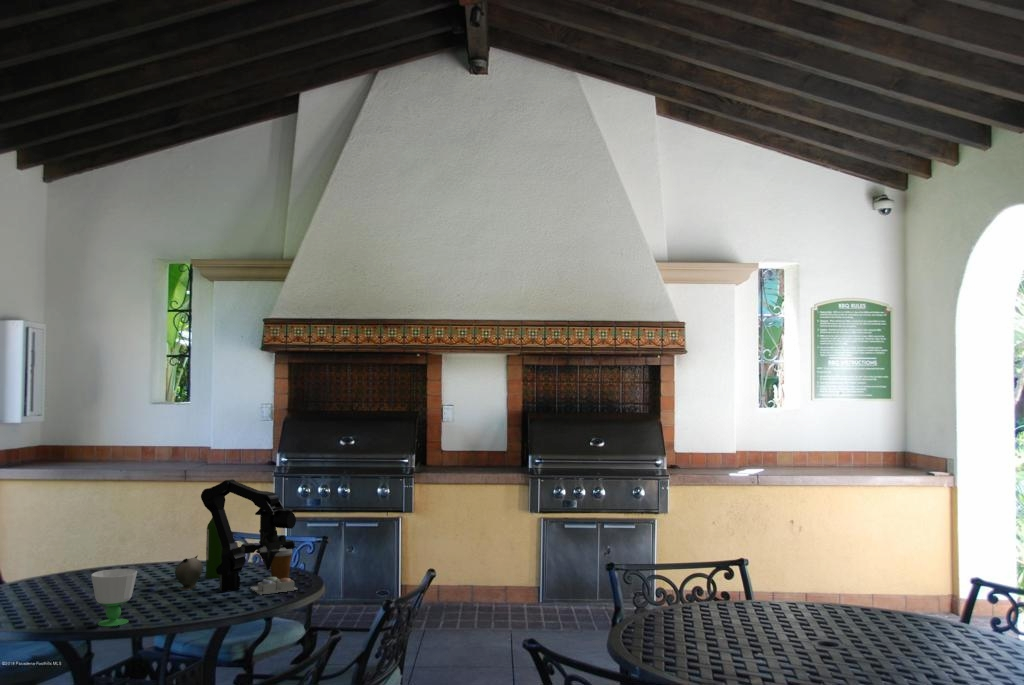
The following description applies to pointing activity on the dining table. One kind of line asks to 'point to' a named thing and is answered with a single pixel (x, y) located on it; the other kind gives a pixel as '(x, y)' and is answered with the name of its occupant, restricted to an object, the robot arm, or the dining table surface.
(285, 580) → the terracotta button
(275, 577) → the sage button
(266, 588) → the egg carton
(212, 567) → the wine bottle
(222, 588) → the robot arm
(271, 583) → the slate button
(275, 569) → the disposable coffee cup
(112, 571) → the cup
